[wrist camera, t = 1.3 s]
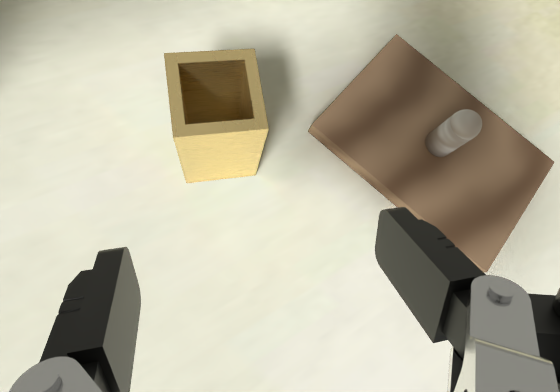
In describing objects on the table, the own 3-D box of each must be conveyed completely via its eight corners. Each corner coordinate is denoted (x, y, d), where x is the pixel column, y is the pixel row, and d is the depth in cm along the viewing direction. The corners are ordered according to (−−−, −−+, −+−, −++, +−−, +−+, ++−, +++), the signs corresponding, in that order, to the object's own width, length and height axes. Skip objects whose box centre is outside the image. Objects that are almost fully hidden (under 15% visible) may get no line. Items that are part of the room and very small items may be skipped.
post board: (308, 131, 35) (327, 93, 29) (390, 43, 39) (423, -7, 33) (475, 273, 34) (535, 267, 28) (541, 167, 38) (607, 140, 32)
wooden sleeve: (186, 183, 32) (173, 137, 23) (179, 119, 34) (163, 53, 25) (255, 175, 33) (268, 128, 24) (245, 114, 35) (254, 48, 26)
